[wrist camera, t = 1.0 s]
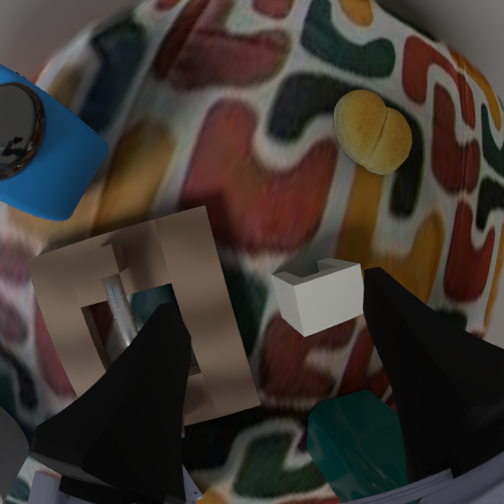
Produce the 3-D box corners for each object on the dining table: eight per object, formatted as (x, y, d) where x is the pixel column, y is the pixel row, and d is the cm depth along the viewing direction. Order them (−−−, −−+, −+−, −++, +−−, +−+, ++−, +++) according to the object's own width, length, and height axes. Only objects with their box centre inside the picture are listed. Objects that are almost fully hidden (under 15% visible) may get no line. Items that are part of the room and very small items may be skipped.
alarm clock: (0, 158, 19) (-102, 117, 5) (33, 103, 20) (-48, 28, 5) (90, 225, 22) (-17, 222, 8) (129, 162, 23) (64, 80, 8)
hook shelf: (256, 394, 26) (269, 422, 22) (106, 428, 23) (96, 458, 18) (203, 207, 24) (208, 201, 19) (36, 257, 21) (8, 263, 16)
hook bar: (176, 417, 22) (176, 427, 20) (161, 420, 21) (161, 430, 20) (116, 257, 20) (112, 259, 18) (100, 262, 20) (94, 264, 18)
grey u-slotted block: (335, 297, 27) (367, 311, 22) (281, 316, 26) (304, 336, 21) (327, 257, 27) (359, 263, 22) (271, 274, 26) (293, 286, 21)
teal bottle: (306, 403, 28) (435, 556, 6) (373, 383, 30) (516, 485, 8) (304, 463, 29) (392, 594, 7) (364, 443, 30) (467, 545, 9)
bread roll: (344, 82, 27) (364, 67, 23) (405, 131, 29) (428, 122, 25) (315, 139, 26) (335, 127, 22) (384, 189, 28) (409, 185, 24)
